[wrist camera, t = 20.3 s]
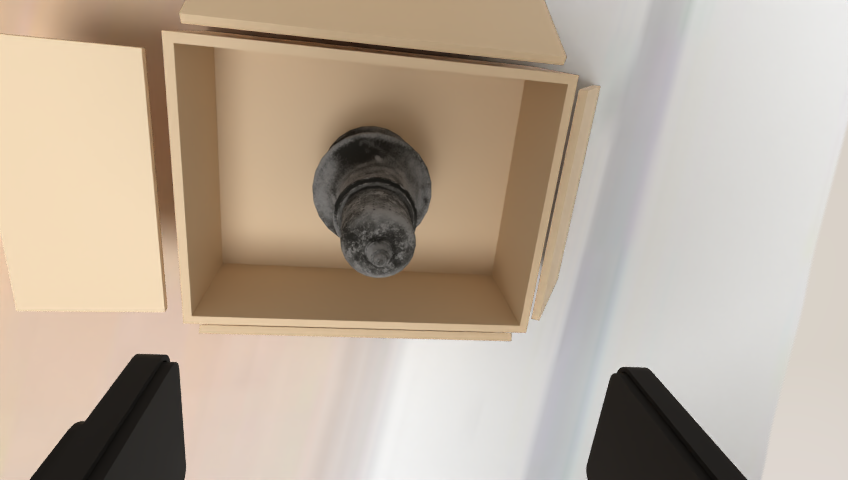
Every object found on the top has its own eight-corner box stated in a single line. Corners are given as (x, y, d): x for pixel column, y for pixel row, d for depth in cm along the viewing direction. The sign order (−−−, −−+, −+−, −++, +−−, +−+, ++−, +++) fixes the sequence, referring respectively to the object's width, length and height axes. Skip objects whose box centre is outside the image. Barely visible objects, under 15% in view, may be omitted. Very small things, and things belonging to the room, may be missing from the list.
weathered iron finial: (383, 241, 30) (399, 362, 19) (296, 186, 28) (258, 285, 17) (444, 161, 29) (499, 241, 18) (356, 97, 27) (357, 143, 16)
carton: (611, 0, 27) (681, -9, 21) (540, 330, 34) (577, 391, 28) (203, -54, 24) (153, -82, 18) (219, 320, 31) (187, 387, 25)
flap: (141, 48, 19) (-43, 30, 18) (164, 312, 24) (16, 311, 22) (145, 47, 20) (-35, 30, 19) (167, 308, 24) (21, 306, 23)
